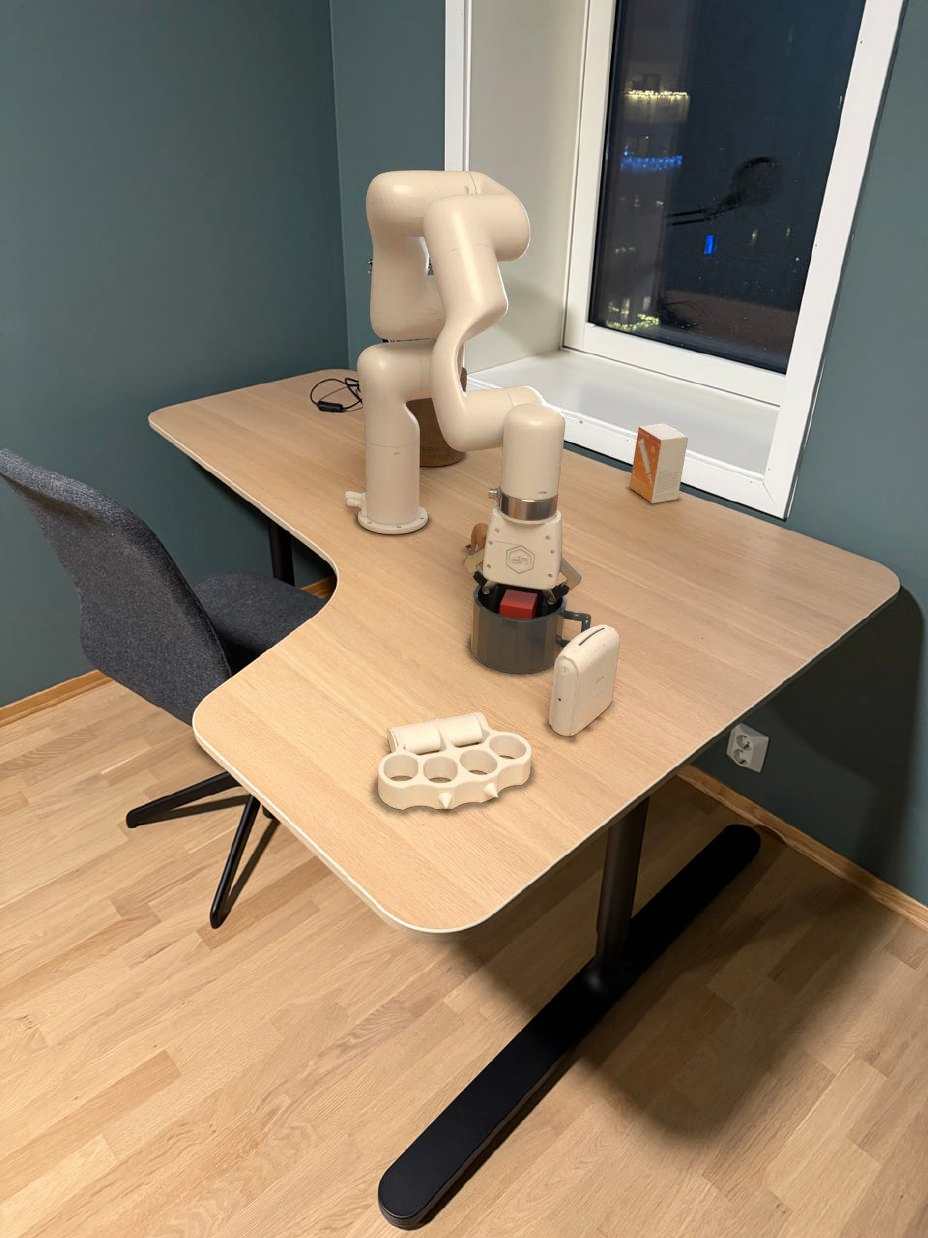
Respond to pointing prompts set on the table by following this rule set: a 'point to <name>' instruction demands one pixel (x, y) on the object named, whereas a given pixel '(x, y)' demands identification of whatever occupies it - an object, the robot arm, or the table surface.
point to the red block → (518, 605)
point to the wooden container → (434, 432)
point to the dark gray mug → (520, 634)
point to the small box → (658, 462)
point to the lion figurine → (478, 537)
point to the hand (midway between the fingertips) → (518, 618)
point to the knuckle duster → (451, 762)
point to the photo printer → (584, 679)
